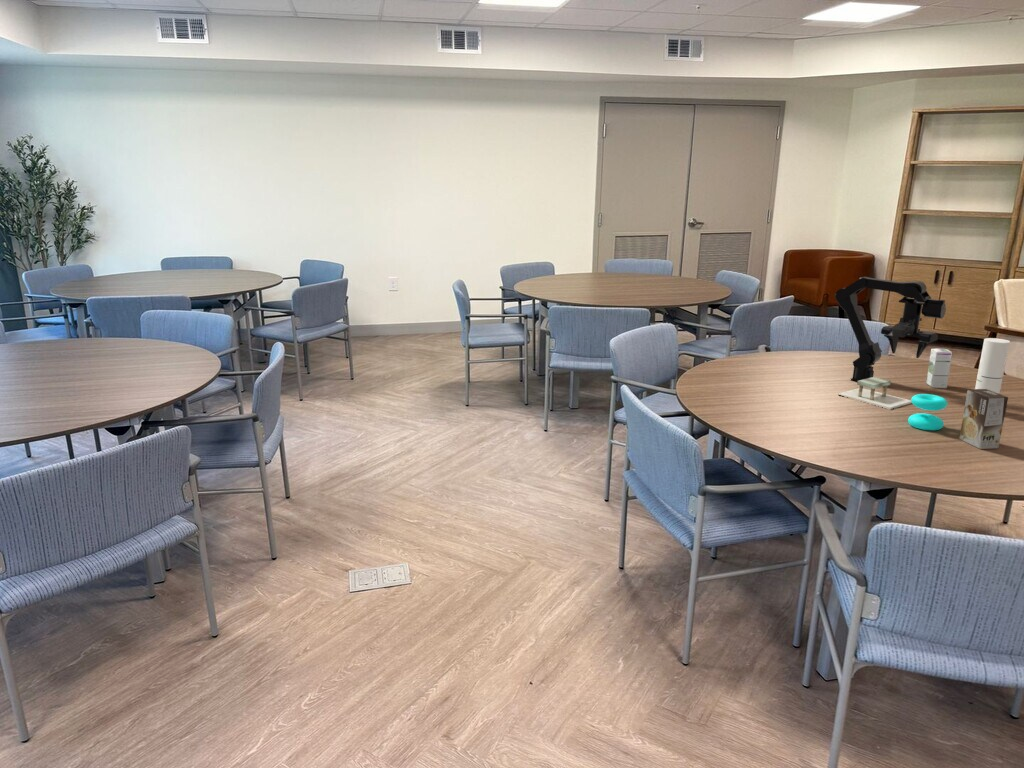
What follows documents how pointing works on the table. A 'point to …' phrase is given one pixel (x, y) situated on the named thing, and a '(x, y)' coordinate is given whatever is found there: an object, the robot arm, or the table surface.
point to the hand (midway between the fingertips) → (905, 355)
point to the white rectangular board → (877, 398)
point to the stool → (873, 385)
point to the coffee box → (983, 418)
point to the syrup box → (939, 368)
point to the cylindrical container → (992, 364)
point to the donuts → (927, 420)
